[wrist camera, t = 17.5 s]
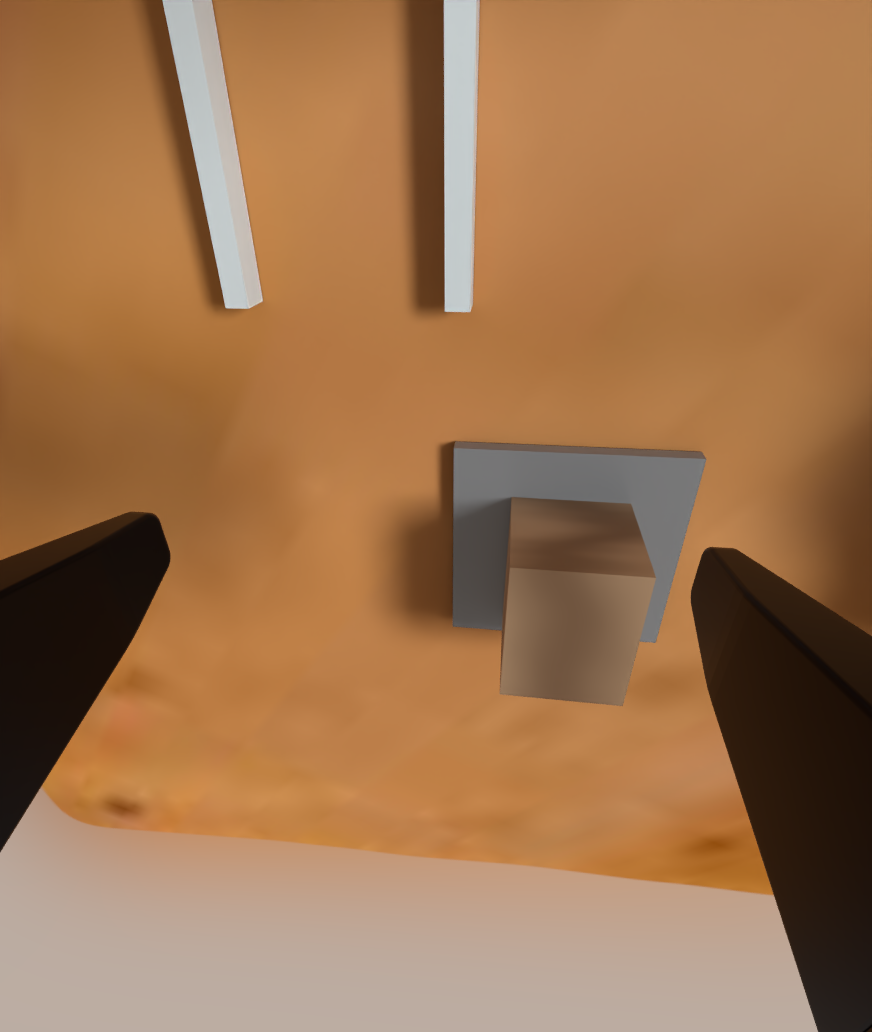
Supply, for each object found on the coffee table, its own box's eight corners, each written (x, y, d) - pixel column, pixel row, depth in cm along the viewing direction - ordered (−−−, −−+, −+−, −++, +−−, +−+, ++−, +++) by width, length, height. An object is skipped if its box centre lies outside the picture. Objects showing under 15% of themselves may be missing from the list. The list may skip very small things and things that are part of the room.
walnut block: (631, 503, 21) (656, 577, 17) (606, 621, 24) (622, 705, 20) (511, 496, 21) (509, 567, 18) (502, 613, 24) (499, 694, 21)
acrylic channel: (489, -443, 11) (486, -506, 10) (472, 304, 18) (470, 311, 17) (109, -390, 12) (71, -442, 11) (241, 301, 19) (225, 308, 18)
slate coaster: (701, 451, 20) (706, 459, 20) (652, 633, 25) (655, 642, 24) (455, 441, 21) (453, 448, 21) (453, 617, 26) (452, 626, 25)
